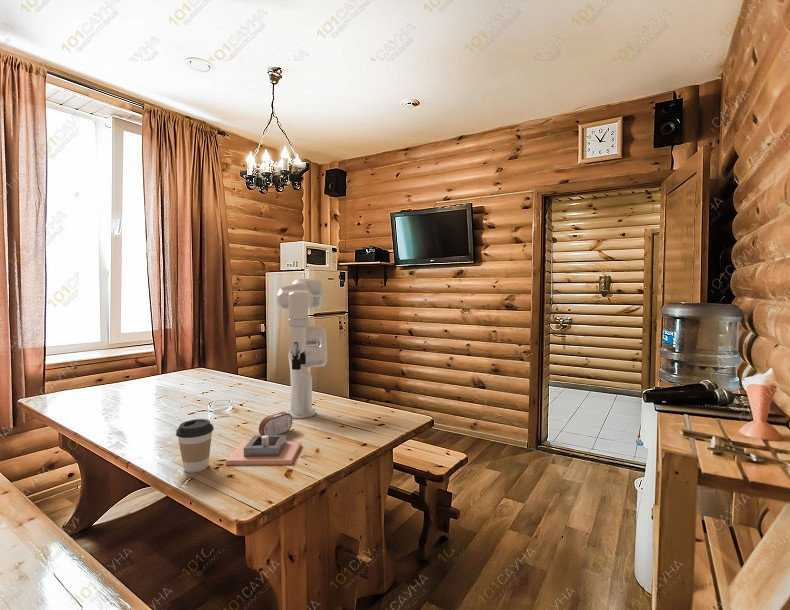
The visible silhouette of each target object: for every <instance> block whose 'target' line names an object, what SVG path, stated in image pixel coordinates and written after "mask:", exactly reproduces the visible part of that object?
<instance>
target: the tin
mask: <svg viewBox="0 0 790 610" xmlns="http://www.w3.org/2000/svg"><path fill="white" fill-rule="evenodd" d="M292 425H293V418H292V416H291V415H290V414H288V412H286V411H281V412H277V413H275V414H271V415H268V416H265V417H264V418H263V419H261V422H260V424H259V427H258V433H259V435H284V434H286V433H287V432H289V430H291V427H292Z"/></svg>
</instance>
